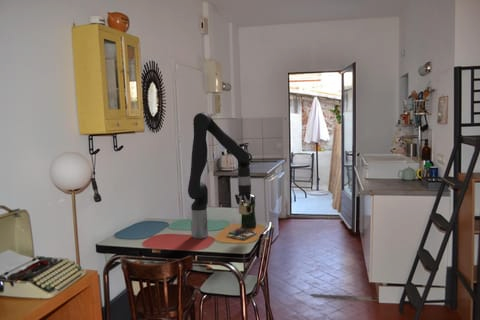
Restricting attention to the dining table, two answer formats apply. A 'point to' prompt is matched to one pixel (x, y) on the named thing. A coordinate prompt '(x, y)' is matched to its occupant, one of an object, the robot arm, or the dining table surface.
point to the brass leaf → (244, 209)
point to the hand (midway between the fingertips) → (245, 211)
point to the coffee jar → (249, 218)
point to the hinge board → (241, 233)
